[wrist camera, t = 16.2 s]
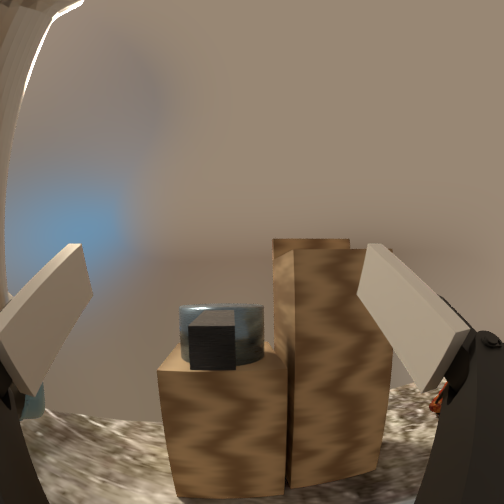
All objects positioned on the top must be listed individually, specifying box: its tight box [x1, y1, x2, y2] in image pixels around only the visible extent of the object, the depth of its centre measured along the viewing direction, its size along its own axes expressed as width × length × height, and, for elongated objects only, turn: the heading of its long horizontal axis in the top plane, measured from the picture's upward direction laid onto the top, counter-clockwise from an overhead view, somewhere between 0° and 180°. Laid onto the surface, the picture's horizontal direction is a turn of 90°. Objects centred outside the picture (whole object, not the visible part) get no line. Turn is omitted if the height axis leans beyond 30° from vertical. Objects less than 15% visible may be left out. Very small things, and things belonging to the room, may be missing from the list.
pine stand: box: [157, 239, 393, 499], centre depth 33 cm, size 26×14×33 cm, turn 95°
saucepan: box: [179, 304, 264, 370], centre depth 27 cm, size 10×21×6 cm, turn 4°
